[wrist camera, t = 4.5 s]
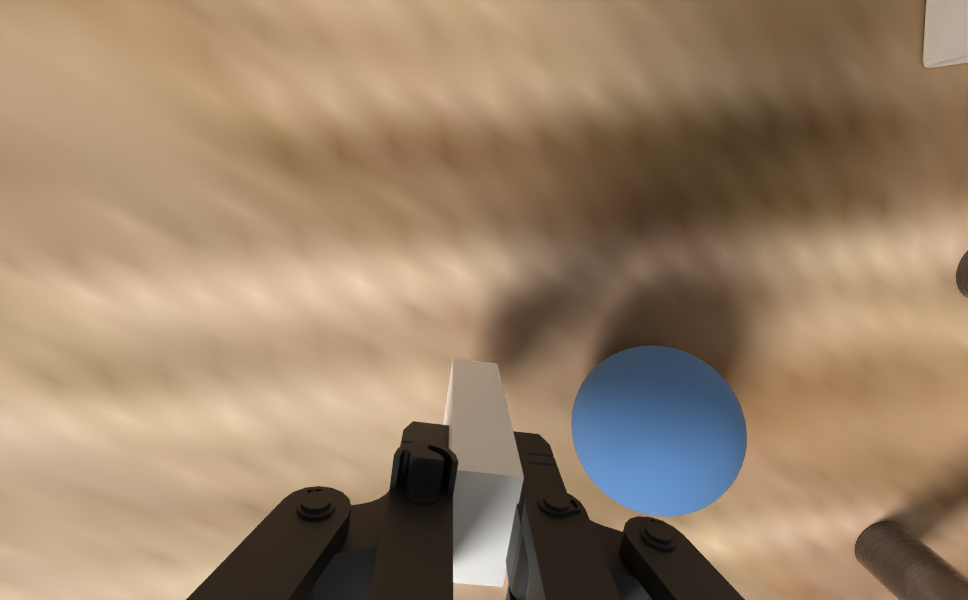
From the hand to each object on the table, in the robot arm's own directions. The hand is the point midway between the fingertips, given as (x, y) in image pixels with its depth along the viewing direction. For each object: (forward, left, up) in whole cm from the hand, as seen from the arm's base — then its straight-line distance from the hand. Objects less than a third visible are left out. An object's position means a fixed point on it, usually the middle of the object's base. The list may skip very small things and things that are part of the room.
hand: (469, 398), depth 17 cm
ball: (0, +6, +1) cm, 6 cm away
